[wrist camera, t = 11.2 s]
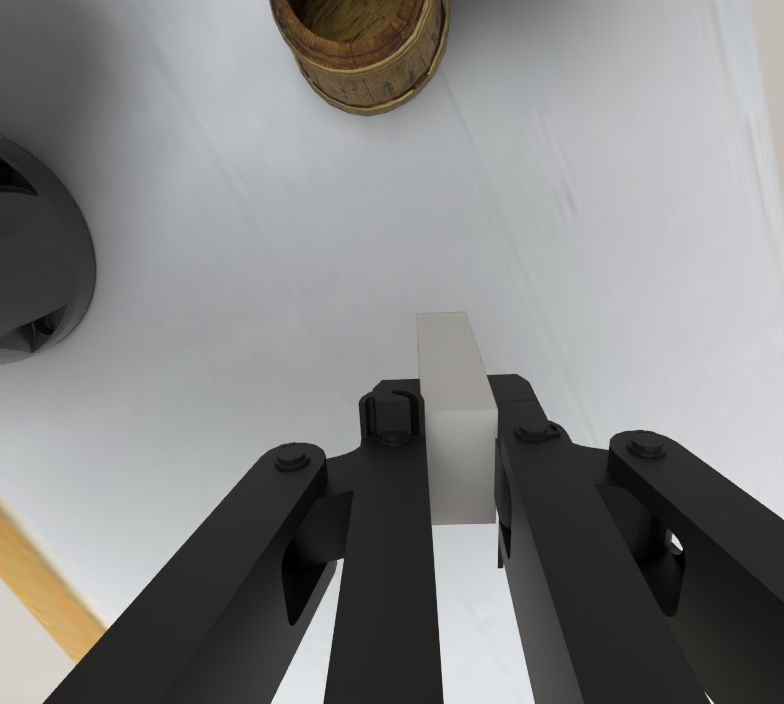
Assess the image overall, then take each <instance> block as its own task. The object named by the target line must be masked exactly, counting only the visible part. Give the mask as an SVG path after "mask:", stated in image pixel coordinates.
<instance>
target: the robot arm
mask: <svg viewBox="0 0 784 704" xmlns="http://www.w3.org/2000/svg"><path fill="white" fill-rule="evenodd" d="M94 280H95V260H94V252H93V247H92V242H91V239H90V235H89V232H88V229H87V226H86V224H85V222H84V219H83V217H82V215H81V213H80V211H79V209H78V207H77V205H76V204H75V202H74V200H73V199H72V197H71V196H70V194H69V193H68V191H67V190H66V189H65V187H64V186H63V185H62V183H61V182H60V181H59V180H58V179H57V178H56V176H55V175H54V174H53V173H52V172H51V171H50V170H49V169H48V168H47V167H46V166H45V165H43V164H42V163H41V162H40V161H39V160H38V159H36V158H35V157H34V156H33V155H31V154H30V153H29V152H27V151H26V150H24V149H23V148H21V147H19V146H18V145H16V144H14V143H13V142H11V141H9V140H7V139H5V138H3V137H1V136H0V365H2V364H8V363H13V362H16V361H20V360H23V359H26V358H29V357H31V356H33V355H35V354H37V353H39V352H41V351H43V350H45V349H46V348H48V347H50V346H52V345H53V344H55V343H57V342H58V341H60V340H62V339H63V338H64V337H65V336H67V335H68V334H69V333H70V332H71V331H72V330H73V329H74V328H75V327H76V326H77V324H78V323H79V322H80V320H81V319H82V317H83V315H84V314H85V312H86V310H87V308H88V305H89V303H90V300H91V296H92V293H93V288H94ZM417 336H418V365H419V379H402V380H382V381H381V382H380V383H379V384H378V385H376V386H375V387H374V388H373V391H372V392H369V393H368V394H366V395H364V396H363V397H362V398H361V399H360V401H359V414H360V426H361V445H360V447H358V448H357V449H356V450H354V451H352V452H350V453H347V454H344V455H341V456H337V457H333V458H328V459H326V455H325V453H324V451H323V449H321V448H320V447H318V446H316V445H313V444H309V443H296V442H293V443H289V444H283V445H280V446H278V447H276V448H273V449H271V450H269V451H268V452H266V453H265V454H264V455H263V456H261V457H260V459H259V460H258V461H257V462H256V463H255V464H254V465H253V466H252V468H251V469H250V470H249V471H248V472H247V473H246V474H245V476H244V477H243V478H242V479H241V480H240V481H239V482H238V483H237V485H236V486H235V487H234V488H233V489H232V490H231V491H230V492H229V494H228V495H227V496H226V497H225V498H224V499H223V500H222V501H221V503H220V504H219V505H218V506H217V507H216V508H215V509H214V511H213V512H212V513H211V514H210V515H209V516H208V517H207V518H206V520H205V521H204V522H203V523H202V524H201V525H200V526H199V527H198V529H197V530H196V531H195V532H194V533H193V534H192V535H191V536H190V538H189V539H188V540H187V541H186V542H185V543H184V544H183V546H182V547H181V548H180V549H179V550H178V551H177V552H176V553H175V555H174V556H173V557H172V558H171V559H170V560H169V561H168V562H167V564H166V565H165V566H164V567H163V568H162V569H161V570H160V571H159V573H158V574H157V575H156V576H155V577H154V578H153V579H152V581H151V582H150V583H149V584H148V585H147V586H146V587H145V588H144V590H143V591H142V592H141V593H140V594H139V595H138V596H137V597H136V599H135V600H134V601H133V602H132V603H131V604H130V605H129V606H128V608H127V609H126V610H125V611H124V612H123V613H122V614H121V616H120V617H119V618H118V619H117V620H116V621H115V622H114V623H113V625H112V626H111V627H110V628H109V629H108V630H107V631H106V632H105V634H104V635H103V636H102V637H101V638H100V639H99V640H98V641H97V643H96V644H95V645H94V646H93V647H92V648H91V649H90V651H89V652H88V653H87V654H86V655H85V656H84V657H83V658H82V660H81V661H80V662H79V663H78V664H77V665H76V666H75V668H74V669H73V670H72V671H71V672H70V673H69V674H68V675H67V677H66V678H65V679H64V680H63V681H62V682H61V683H60V684H59V686H58V687H57V688H56V689H55V690H54V691H53V692H52V693H51V695H50V696H49V697H48V698H47V699H46V700H45V701H44V703H43V704H271V702H272V700H273V698H274V696H275V694H276V692H277V689H278V687H279V685H280V683H281V681H282V679H283V677H284V675H285V673H286V671H287V669H288V667H289V665H290V663H291V661H292V659H293V657H294V655H295V653H296V651H297V649H298V647H299V645H300V643H301V641H302V639H303V636H304V634H305V632H306V630H307V628H308V626H309V624H310V622H311V620H312V618H313V616H314V614H315V612H316V610H317V608H318V606H319V604H320V602H321V600H322V598H323V596H324V594H325V592H326V590H327V588H328V586H329V583H330V581H331V579H332V577H333V575H334V573H335V571H336V566H337V560H339V559H342V558H344V563H343V570H342V577H341V584H340V591H339V598H338V605H337V612H336V619H335V626H334V633H333V640H332V647H331V654H330V661H329V668H328V675H327V682H326V689H325V696H324V703H323V704H444V701H443V687H442V672H441V657H440V642H439V627H438V613H437V598H436V583H435V568H434V553H433V539H432V525H447V524H489V523H496V507H497V511H498V516H499V537H498V568H503V565H504V566H505V570H506V575H507V579H508V584H509V588H510V593H511V597H512V602H513V606H514V611H515V615H516V620H517V624H518V629H519V633H520V638H521V642H522V647H523V651H524V656H525V660H526V665H527V669H528V674H529V678H530V683H531V687H532V692H533V696H534V701H535V704H711V703H710V701H709V699H708V697H707V696H706V694H707V695H708V696H709V698H710V699H711V700H712V701H713V703H714V704H784V520H783V519H782V518H781V517H779V516H778V515H776V514H775V513H774V512H772V511H771V510H770V509H768V508H767V507H765V506H764V505H763V504H761V503H760V502H759V501H757V500H756V499H754V498H753V497H752V496H750V495H749V494H748V493H746V492H745V491H743V490H742V489H741V488H739V487H738V486H737V485H735V484H734V483H732V482H731V481H730V480H728V479H727V478H725V477H724V476H723V475H721V474H720V473H719V472H717V471H716V470H714V469H713V468H712V467H710V466H709V465H708V464H706V463H705V462H703V461H702V460H701V459H699V458H698V457H697V456H695V455H694V454H692V453H691V452H690V451H688V450H687V449H686V448H684V447H683V446H681V445H680V444H679V443H677V442H676V441H674V440H672V439H670V438H668V437H666V436H663V435H660V434H657V433H655V432H652V431H644V430H635V431H624V432H621V433H618V434H615V435H614V436H613V437H612V438H611V439H610V445H609V450H605V449H598V448H591V447H586V446H581V445H577V444H574V443H572V441H571V439H570V437H569V436H568V434H567V432H566V431H565V430H564V429H563V428H562V426H560V425H558V424H556V423H554V422H552V421H549V420H548V419H547V417H546V415H545V413H544V411H543V409H542V407H541V405H540V403H539V401H538V399H537V397H536V395H535V393H534V391H533V389H532V387H531V385H530V383H529V382H528V381H527V380H525V379H524V378H522V377H521V376H519V375H518V374H504V375H486V372H485V369H484V366H483V363H482V360H481V357H480V354H479V351H478V348H477V345H476V342H475V339H474V336H473V333H472V330H471V327H470V324H469V321H468V318H467V315H466V312H447V313H422V314H417ZM672 534H674V535H675V536H676V537H677V539H678V540H679V542H680V544H681V546H682V548H683V551H681V550H680V549H679V548H677V547H676V546H675V545H674V544H673V543H672V542H671V540H672ZM704 691H705V692H704ZM705 693H706V694H705Z"/></svg>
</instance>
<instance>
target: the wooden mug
mask: <svg viewBox="0 0 784 704" xmlns="http://www.w3.org/2000/svg"><path fill="white" fill-rule="evenodd" d="M269 2H270V6H271V11H272V15H273V18H274V21H275V23H276V25H277V27H278V29H279V31H280V33H281V35H282V37H283V39H284V41H285V42H286V43H287V44H288V46H289V47H290V48H291V50H292V52H293V54H294V57H295V59H296V61H297V64H298V66H299V69H300V71H301V73H302V75H303V76H304V77H305V79H306V80H307V82H308V83H309V84H310V86H311V87H312V89H313V90H314V91H315V92H316V93H317V94H318V95H319V96H321V97H322V98H323V99H324V100H325V101H326V102H328V103H329V104H330V105H332V106H334V107H336V108H338V109H341V110H343V111H345V112H347V113H351V114H357V115H364V116H372V115H376V114H381V113H386V112H388V111H390V110H392V109H394V108H397V107H399V106H401V105H403V104H405V103H406V102H408V101H409V100H410V99H412V98H413V97H414V96H416V95H417V94H418V93H419V92H420V91H421V90H422V89H423V88H424V86H425V85H426V84H427V83H428V82H429V81H430V79H431V78H432V77H433V76H434V74H435V72H436V70H437V68H438V66H439V64H440V62H441V60H442V58H443V55H444V53H445V50H446V43H447V36H448V29H449V15H450V0H269Z"/></svg>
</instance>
